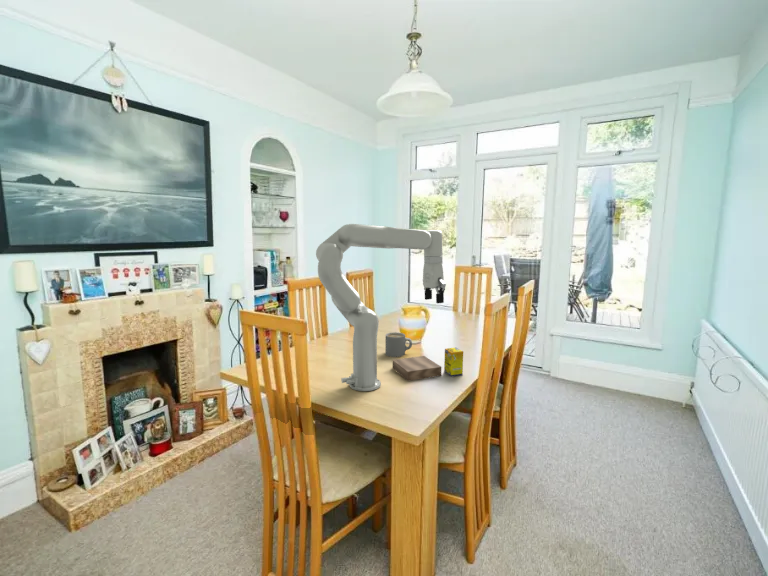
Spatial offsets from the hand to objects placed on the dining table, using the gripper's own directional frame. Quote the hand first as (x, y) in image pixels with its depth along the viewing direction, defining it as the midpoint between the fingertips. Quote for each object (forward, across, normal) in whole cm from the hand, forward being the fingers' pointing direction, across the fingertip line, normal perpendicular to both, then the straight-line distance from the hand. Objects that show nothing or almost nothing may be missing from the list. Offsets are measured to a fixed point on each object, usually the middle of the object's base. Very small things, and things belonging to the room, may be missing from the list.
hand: (434, 301), depth 159 cm
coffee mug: (+33, -33, -3) cm, 46 cm away
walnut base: (+32, -7, -6) cm, 34 cm away
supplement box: (+33, +1, +8) cm, 34 cm away
